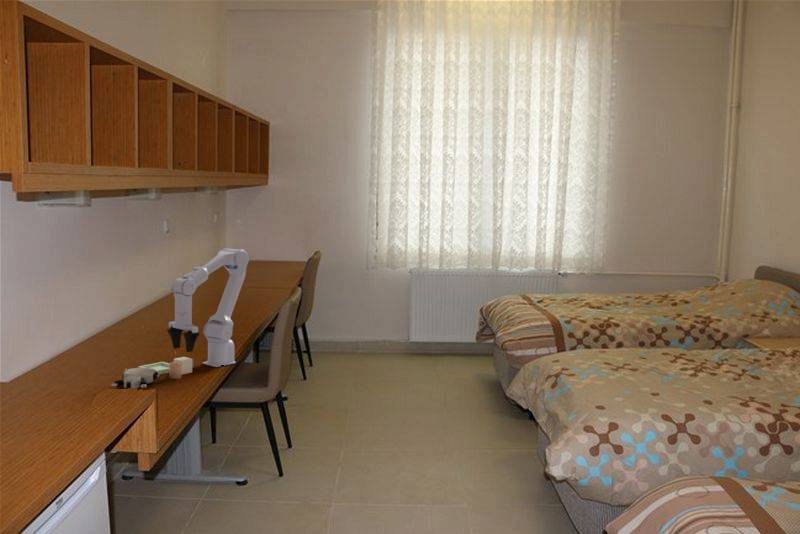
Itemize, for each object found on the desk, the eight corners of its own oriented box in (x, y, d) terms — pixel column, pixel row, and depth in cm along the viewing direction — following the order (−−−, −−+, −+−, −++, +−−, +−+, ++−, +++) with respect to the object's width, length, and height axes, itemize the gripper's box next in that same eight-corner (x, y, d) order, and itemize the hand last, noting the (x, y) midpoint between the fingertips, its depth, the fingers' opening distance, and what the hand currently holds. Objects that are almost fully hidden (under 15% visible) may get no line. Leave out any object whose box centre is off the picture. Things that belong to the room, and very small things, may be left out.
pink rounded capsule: (176, 375, 249) (176, 361, 248) (183, 377, 246) (183, 363, 246) (167, 377, 246) (167, 363, 245) (173, 379, 243) (174, 365, 243)
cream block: (184, 370, 256) (184, 356, 256) (192, 372, 253) (192, 358, 253) (173, 372, 252) (173, 358, 252) (181, 374, 250) (181, 360, 249)
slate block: (186, 366, 262) (186, 358, 261) (193, 367, 261) (193, 359, 261) (178, 369, 257) (178, 361, 257) (185, 370, 256) (185, 362, 256)
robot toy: (147, 395, 227) (163, 379, 242) (146, 382, 226) (162, 367, 241) (108, 394, 227) (127, 378, 242) (108, 380, 226) (126, 365, 241)
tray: (162, 365, 261) (162, 361, 261) (179, 370, 255) (179, 366, 255) (138, 370, 253) (138, 366, 253) (154, 375, 247) (154, 371, 247)
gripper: (161, 310, 252) (161, 348, 253) (186, 316, 243) (186, 355, 245) (178, 308, 258) (178, 345, 259) (203, 313, 249) (202, 351, 250)
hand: (183, 349), depth 252 cm, fingers open, 7 cm apart
